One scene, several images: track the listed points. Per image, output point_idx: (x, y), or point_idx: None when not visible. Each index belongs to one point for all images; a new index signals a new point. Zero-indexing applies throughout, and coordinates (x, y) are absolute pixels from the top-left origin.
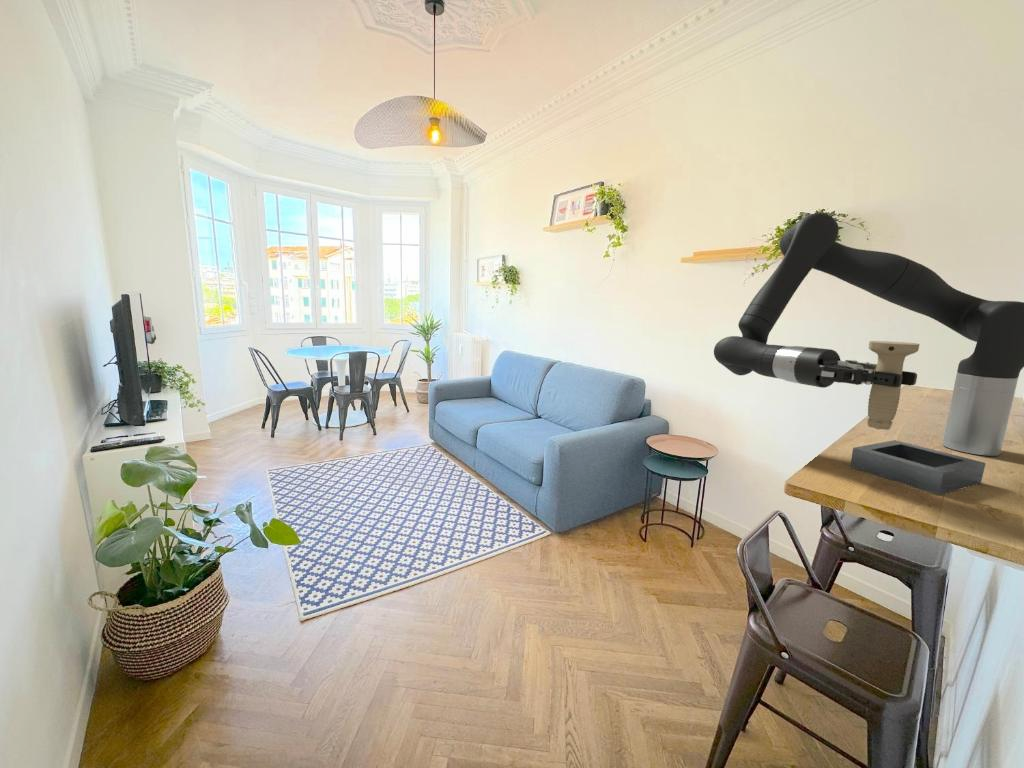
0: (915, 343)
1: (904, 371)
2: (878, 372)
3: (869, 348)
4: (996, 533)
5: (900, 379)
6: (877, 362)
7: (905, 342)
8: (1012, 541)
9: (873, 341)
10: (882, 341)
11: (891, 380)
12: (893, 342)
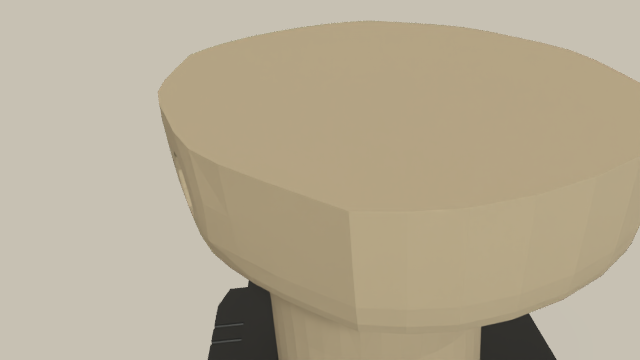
0: (229, 47)
1: (262, 307)
2: (517, 347)
3: (633, 237)
4: None
5: None
6: (458, 350)
7: (173, 81)
8: None
9: (508, 159)
10: (311, 146)
11: None
12: (319, 84)
